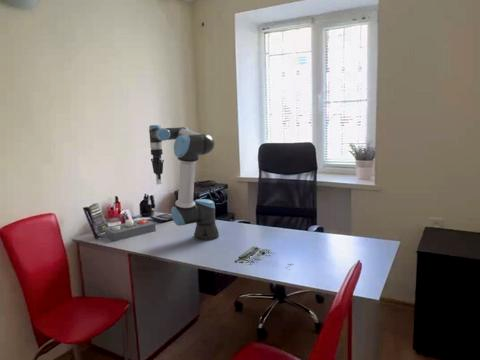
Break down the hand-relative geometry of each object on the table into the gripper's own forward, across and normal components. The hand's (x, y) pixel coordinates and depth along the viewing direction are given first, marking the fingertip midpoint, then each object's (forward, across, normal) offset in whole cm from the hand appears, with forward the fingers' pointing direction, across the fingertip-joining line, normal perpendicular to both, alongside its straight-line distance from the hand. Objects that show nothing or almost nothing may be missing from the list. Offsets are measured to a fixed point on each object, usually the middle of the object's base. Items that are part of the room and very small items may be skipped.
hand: (158, 184), depth 251 cm
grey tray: (+29, +2, +22) cm, 37 cm away
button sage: (+28, +2, +31) cm, 42 cm away
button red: (+28, +2, +13) cm, 31 cm away
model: (+30, -93, -9) cm, 98 cm away
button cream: (+25, +2, +22) cm, 34 cm away
